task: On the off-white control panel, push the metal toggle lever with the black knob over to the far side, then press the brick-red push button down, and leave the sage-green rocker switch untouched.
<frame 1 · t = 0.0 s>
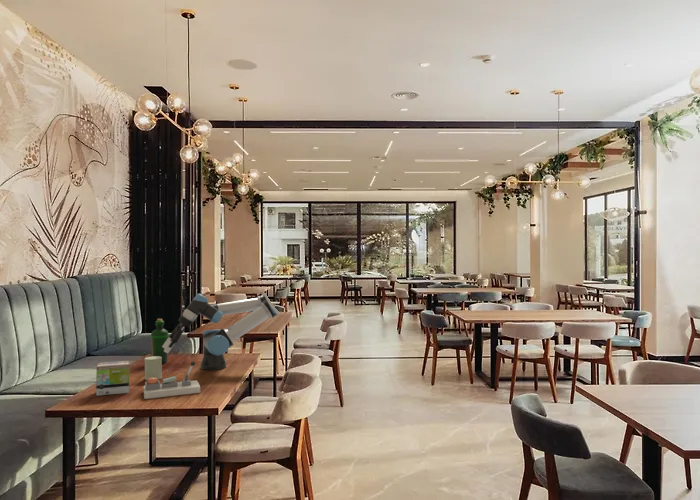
hand: (164, 350, 289), 15 cm above the table, tool tilted 35°, fingers open, 13 cm apart
can: (153, 378, 286), on the table
switch panel: (171, 392, 257), on the table
rocker switch: (169, 379, 257), point 7 cm above the table, hinge at 10.0°
push button: (152, 381, 254), point 6 cm above the table, slide at 0.0 cm
bottle: (160, 363, 327), on the table
toggle lever: (189, 370, 261), point 10 cm above the table, hinge at -25.0°
tea box: (113, 392, 258), on the table
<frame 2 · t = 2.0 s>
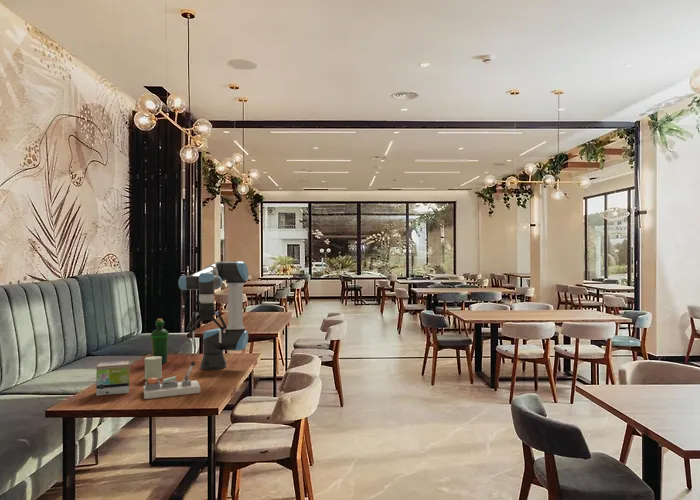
hand: (206, 343, 265), 23 cm above the table, tool pointing down, fingers open, 13 cm apart
nothing on the table moved.
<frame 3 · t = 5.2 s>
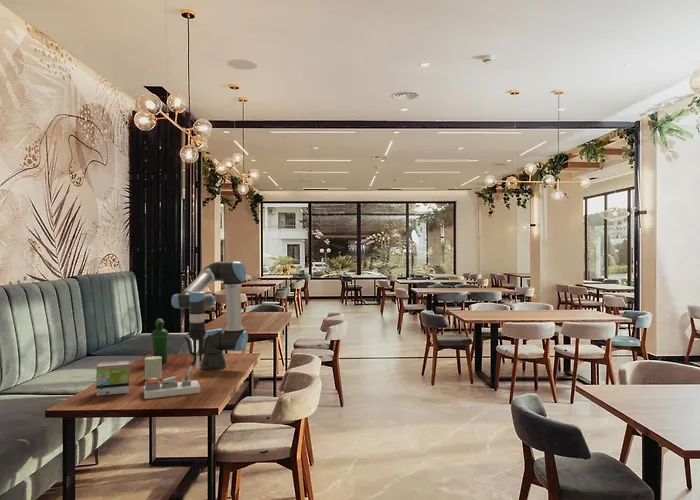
hand: (197, 367, 262), 11 cm above the table, tool pointing down, fingers closed
toggle lever: (189, 370, 261), point 10 cm above the table, hinge at -25.0°, touching gripper
everything else where it was.
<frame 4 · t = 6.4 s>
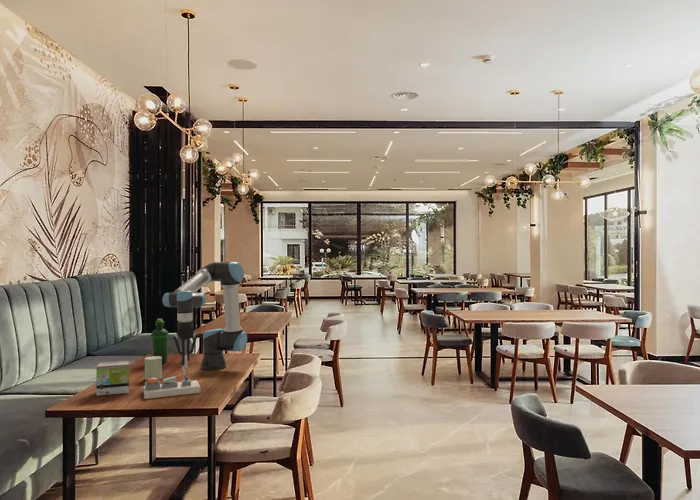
hand: (185, 367, 260), 12 cm above the table, tool pointing down, fingers closed
toggle lever: (184, 370, 260), point 10 cm above the table, hinge at 12.9°, touching gripper
everything else where it was.
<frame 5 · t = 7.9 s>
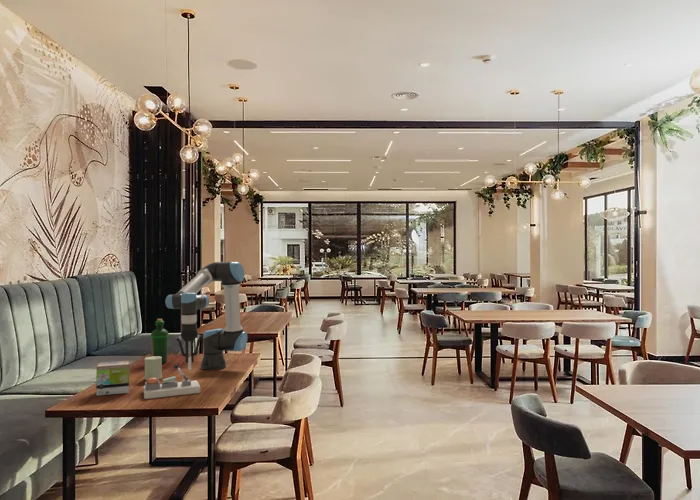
hand: (189, 369, 261), 11 cm above the table, tool pointing down, fingers closed
toggle lever: (181, 372, 259), point 10 cm above the table, hinge at 36.1°
everything else where it was.
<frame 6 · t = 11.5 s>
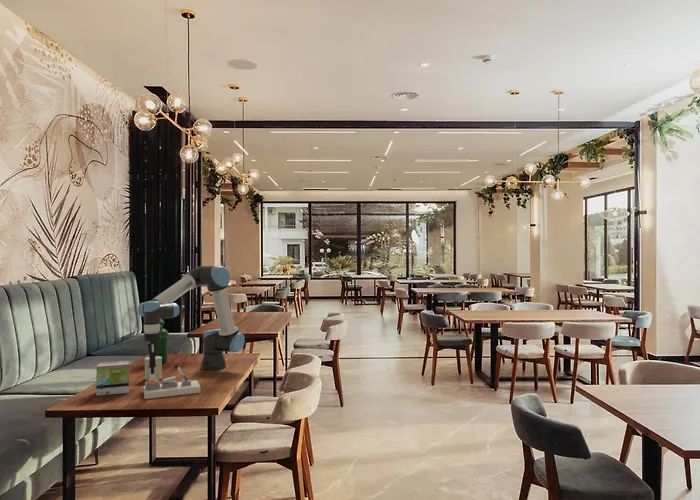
hand: (152, 380, 253), 7 cm above the table, tool pointing down, fingers closed
push button: (152, 383, 254), point 5 cm above the table, slide at 1.0 cm
everything else where it was.
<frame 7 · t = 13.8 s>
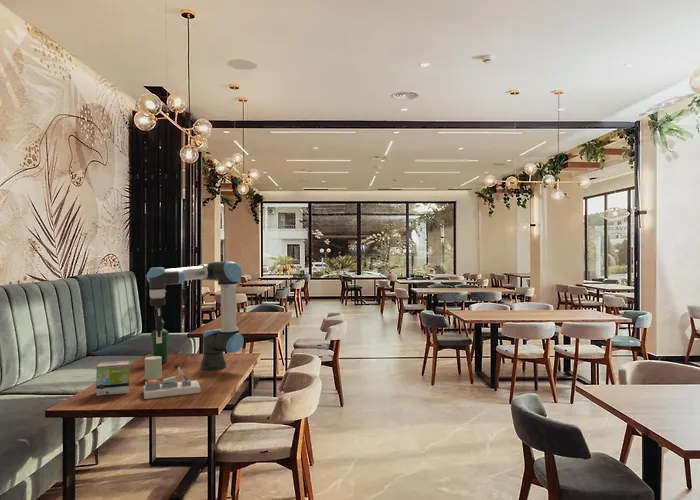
hand: (159, 343, 264), 24 cm above the table, tool pointing down, fingers closed
nothing on the table moved.
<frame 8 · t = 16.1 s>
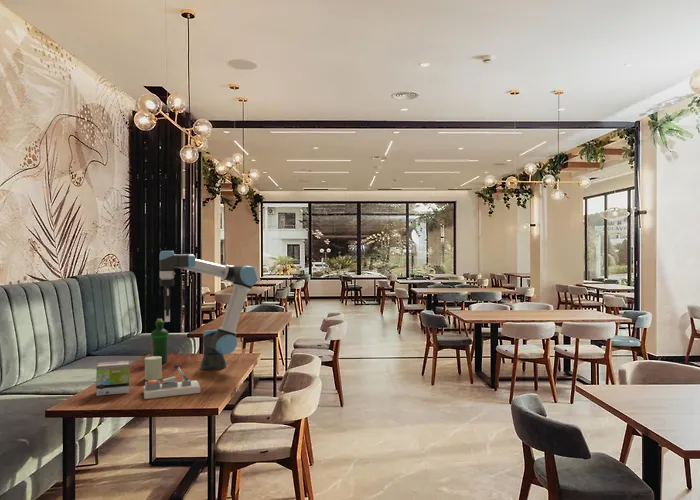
hand: (167, 321, 281), 32 cm above the table, tool pointing down, fingers closed
nothing on the table moved.
at the end: toggle lever at +36° (first picture: -25°); push button slide at 1.1 cm; rocker switch at +10° (first picture: +10°) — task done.
